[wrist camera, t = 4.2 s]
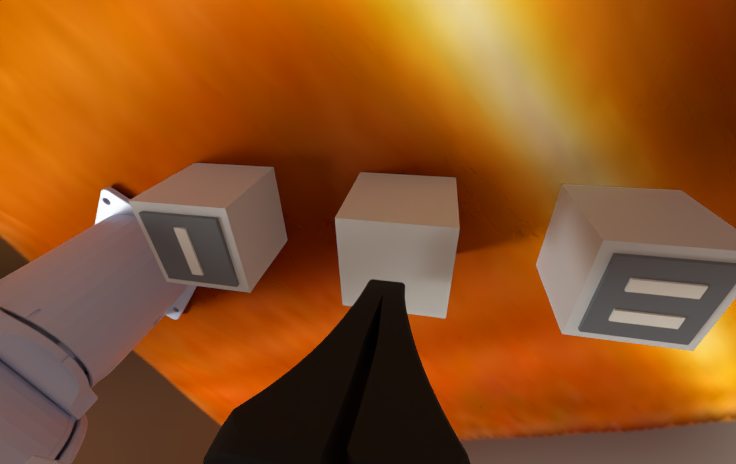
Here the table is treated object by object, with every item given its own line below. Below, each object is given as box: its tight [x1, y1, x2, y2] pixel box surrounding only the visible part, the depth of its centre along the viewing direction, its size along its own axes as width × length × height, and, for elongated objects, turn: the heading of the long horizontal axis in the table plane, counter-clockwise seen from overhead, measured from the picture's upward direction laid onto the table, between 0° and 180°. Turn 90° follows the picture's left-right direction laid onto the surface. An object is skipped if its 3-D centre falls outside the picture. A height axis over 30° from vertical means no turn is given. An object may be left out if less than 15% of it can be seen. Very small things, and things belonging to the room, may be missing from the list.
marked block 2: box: [536, 184, 736, 351], centre depth 14 cm, size 5×5×5 cm
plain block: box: [335, 172, 460, 319], centre depth 16 cm, size 5×5×5 cm
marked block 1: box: [128, 163, 288, 293], centre depth 18 cm, size 5×5×5 cm
